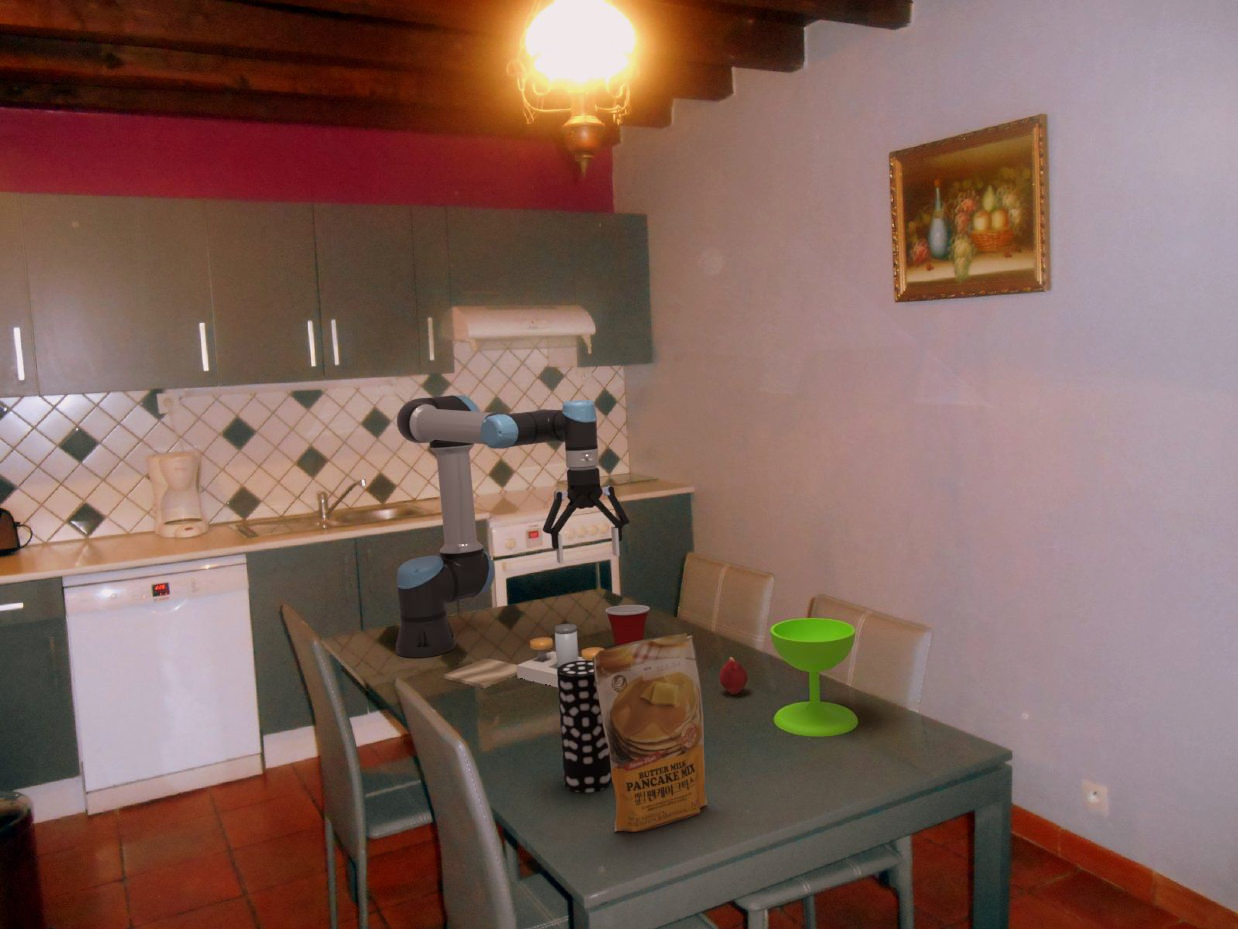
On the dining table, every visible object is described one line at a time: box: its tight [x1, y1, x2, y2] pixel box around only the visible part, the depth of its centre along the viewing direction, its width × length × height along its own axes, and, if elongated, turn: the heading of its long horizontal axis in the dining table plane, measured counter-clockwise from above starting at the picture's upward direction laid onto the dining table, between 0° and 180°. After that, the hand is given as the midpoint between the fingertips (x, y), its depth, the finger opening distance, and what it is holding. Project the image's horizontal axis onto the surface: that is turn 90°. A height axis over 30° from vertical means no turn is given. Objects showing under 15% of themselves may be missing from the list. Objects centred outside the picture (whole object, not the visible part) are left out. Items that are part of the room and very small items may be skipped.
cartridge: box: [554, 623, 579, 668], centre depth 213 cm, size 5×5×12 cm
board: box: [442, 657, 518, 689], centre depth 219 cm, size 14×14×1 cm
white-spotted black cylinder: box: [557, 660, 613, 794], centre depth 158 cm, size 8×8×20 cm
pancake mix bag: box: [592, 631, 708, 833], centre depth 144 cm, size 7×19×28 cm, turn 116°
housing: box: [516, 650, 584, 688], centre depth 213 cm, size 21×12×3 cm, turn 51°
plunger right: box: [581, 646, 605, 660], centre depth 208 cm, size 5×5×4 cm
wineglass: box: [769, 617, 859, 738], centre depth 180 cm, size 16×16×18 cm
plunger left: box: [529, 636, 554, 660], centre depth 218 cm, size 5×5×4 cm
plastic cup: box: [604, 604, 651, 647], centre depth 227 cm, size 11×11×12 cm
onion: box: [718, 656, 748, 696], centre depth 196 cm, size 6×6×8 cm
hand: (588, 559), depth 216 cm, fingers open, 13 cm apart
